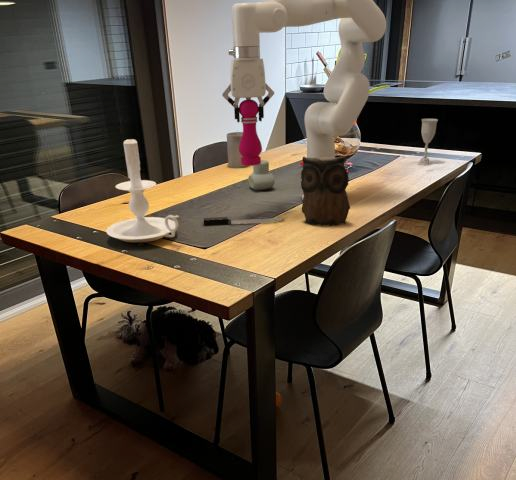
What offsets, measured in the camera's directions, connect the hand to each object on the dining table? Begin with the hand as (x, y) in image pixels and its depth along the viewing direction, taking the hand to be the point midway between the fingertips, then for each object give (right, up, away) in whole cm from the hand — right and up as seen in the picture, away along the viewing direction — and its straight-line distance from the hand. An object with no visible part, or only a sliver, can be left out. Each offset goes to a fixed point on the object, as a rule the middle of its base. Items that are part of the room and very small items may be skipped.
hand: (249, 120), depth 162 cm
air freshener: (+4, -8, +44) cm, 45 cm away
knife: (-2, -29, +8) cm, 30 cm away
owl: (+24, -29, +7) cm, 38 cm away
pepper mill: (0, -11, +6) cm, 13 cm away
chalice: (+76, +12, +73) cm, 106 cm away
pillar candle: (-6, +13, +81) cm, 82 cm away
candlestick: (-30, -37, -3) cm, 47 cm away
